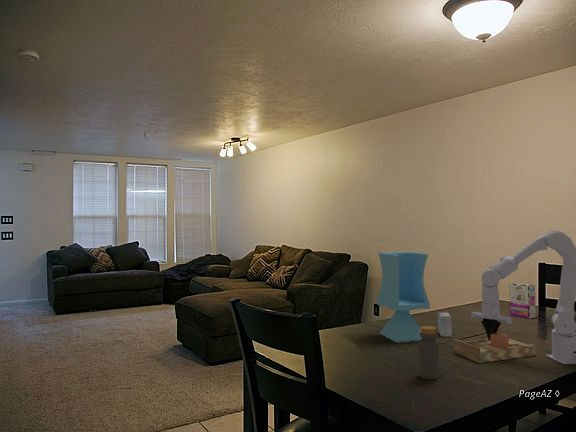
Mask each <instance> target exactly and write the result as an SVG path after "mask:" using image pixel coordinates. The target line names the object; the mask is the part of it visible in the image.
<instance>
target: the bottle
mask: <svg viewBox="0 0 576 432" xmlns="http://www.w3.org/2000/svg"><path fill="white" fill-rule="evenodd" d="M419 327H420V329H421V332H420V337H422V339H421V340H419V341H418V376H419V377H420V378H422V379H424V380H425V379H426V380H437V379H439V377H440V368H439V367H440V363H439V362H440V361H439V359H440V357H439V342H438V340H436V338H437V337H438V334H437V333H436V332H437V331H436V330H437V327H436V326H432V325H421V326H419Z"/></svg>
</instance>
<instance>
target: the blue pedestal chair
mask: <svg viewBox="0 0 576 432" xmlns="http://www.w3.org/2000/svg"><path fill="white" fill-rule="evenodd" d="M378 256H379V260H380V265H381V272H382V273H381V274H382V276H381V284H380V289H379V292H378V295H377V298H376V305H377V306H381V307H385V308H388V309H390V310H392V311H395V312H394V314H393V315H392V316H391V317H390V319H389V320H388V321H387V323H386V324H385V325H384V326H383V328H382V329H381V331H380V334H381V335H383V336H385V337H386V339H387V338H389V339H390V340H389V339H388V340H389V341H391V340H392V342H393V341H394V343H395V342H396V344H400V343H401V342H403V343H411V341H413V342H419V340H421V339H422V337H420V332H421V329H420V327H421V326H419V324H418V323H417V322H416V320H415V319H414V317H413V316H412V314H411V313H410V311H414V310H420V309H421V310H426V309H427V310H429V309H430V308H431V307H430V306H431V305H430V304H431V303H430V300H429V299H428V294H427V292H426V288H425V281H424V274H425V267H426V264H427V259H428V258H429V253H426V252H416V251H386V252H381V251H380V252H378ZM381 335H380V336H381ZM383 336H382V337H383ZM385 337H384V338H385Z"/></svg>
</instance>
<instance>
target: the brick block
mask: <svg viewBox="0 0 576 432" xmlns="http://www.w3.org/2000/svg"><path fill="white" fill-rule="evenodd" d="M509 339H510V337H509V335H508V334H505V333H500V332H497V333H495V334H490V344H491V346H492V347H496V348H499V349H501V348H508V347H509Z"/></svg>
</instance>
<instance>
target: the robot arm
mask: <svg viewBox="0 0 576 432" xmlns="http://www.w3.org/2000/svg"><path fill="white" fill-rule="evenodd" d="M549 248H550V249H551V250H554V251H555V252H556V253H557V254H558V255H559V256H560V257H561V258H562V265H561V273H560V275H561V276H560V283H559V289H558V290H559V291H558V298H557V303H556V307H555V311H554V314H553V315H552V316H551V324H552V325H553V327H554V328H553V329H552V330H551V353H552V354H546V357H548V358H549V359H551V360H554V361H555V362H559V363H560V364H563V365H576V320H575V301H576V246H575V244H574V242H573V240H572V238H570V236H568V234H566V233H564V232H563V231H559V230H550V231H548V232H547V233H545V234H543V235H540V236H538V237H537V238H536V239H534V240H532V241H531V242H530V243H528V244H527V245H526V246H525V247H523V248H521V250H519V251H517V253H515V254H514V255H512V256H509V255H506V256H504V257H503V256H502V257H500V258H499V261H498V262H495V264H493V265H490V266H488V268H489V269H486V270H484V271H483V272H482V274H481V282H482V284H481V287H482V289H481V300H482V301H481V304H482V305H481V306H482V308H481V310H482V312H480V311H479V312H477V311H472V312H470V313H471V318H473V319H480V320H481V323H480V324H481V325H482V326H483V328H484V330H485V333H486V337H487V339H488V340H489V341H490V334H495V333H498V331H499V328H500V326H501V324H502V323H503V324H506V325H511V324H513V318H512V317H508V316H505V315H501V313H500V311H501V310H500V290H499V284H500V280H505V278H507V277H508V276H510V275H512V273H514V272H515V271H517V270H518V269H519V264H520V263H521V262H523V261H525V260H526V259H528V258H529V257H531V256H532V255H535V253H537V252H539V251H548V250H549Z"/></svg>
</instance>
